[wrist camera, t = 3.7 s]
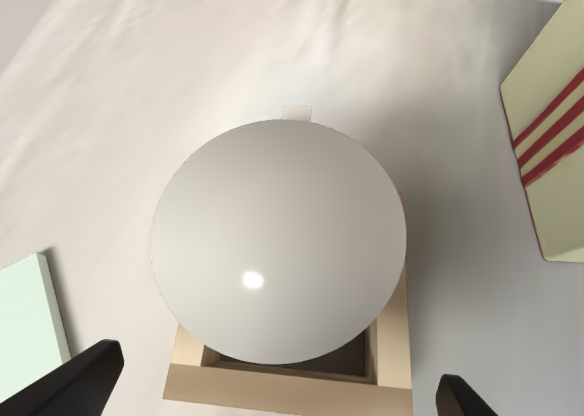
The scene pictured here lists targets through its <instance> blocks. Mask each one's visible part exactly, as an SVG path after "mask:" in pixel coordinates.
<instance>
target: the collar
mask: <svg viewBox="0 0 584 416" xmlns="http://www.w3.org/2000/svg"><path fill="white" fill-rule="evenodd" d="M397 193H398V195H399V198H400V200H401V204H402V192H397ZM402 208H403V207H402ZM220 356H221V353H219V352H217V351H216V350H214V349H212V348H210V347H208V346H206V345H205V344H203V343H202V342H200V341H199V340H198V339H196V338H195V337H194V336H192V335H191V334H190V333H189V332H188V331H187V330H186V329H185V328H184V327H183V326H182V325H181V324H180V323H179V324H178V329H177V333H176V338H175V343H174V347H173V352H172V357H171V361H170V366H169V370H168V375H167V380H166V384H165V389H164V394H163V398H162V399H167V400H176V401H184V402H193V403H201V404H210V405H218V406H226V407H235V408H243V409H252V410H260V411H268V412H277V413H285V414H294V415H302V416H413V404H412V384H411V364H410V345H409V325H408V305H407V286H406V266H405V259H404V265H403V268H402V271H401V274H400V278H399V281H398V283H397V285H396V287H395V289H394V291H393V293H392V296H391V298H390V299H389V301H388V302H387V304H386V305H385V307H384V308H383V310H382V311H381V313H380V314H379V315H378V316H377V317H376V318H375V319H374V320H373V322H372V323H371V324H370V325H369V326H368V327H367V328H366V329H365V376H357V375H348V374H339V373H329V372H320V371H311V370H301V369H292V368H282V367H273V366H264V365H254V364H245V363H236V362H226V361H220Z"/></svg>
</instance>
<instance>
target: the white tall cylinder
mask: <svg viewBox="0 0 584 416" xmlns="http://www.w3.org/2000/svg"><path fill="white" fill-rule="evenodd" d="M150 250H151V263H152V268H153V273H154V278H155V280H156V283H157V286H158V289H159V291H160V294H161V296H162V298H163V300H164V301H165V303H166V305H167V307H168V309H169V310H170V311H171V313H172V314H173V315H174V317H175V318H176V319H177V321H178V322H179V323H180V324H181V325H182V326H183V327H184V328H185V329H186V330H187V331H188V332H189V333H190V334H191V335H192V336H194V337H195V338H196V339H198V340H199V341H200V342H202V343H203V344H205V345H206V346H208V347H210V348H212V349H214V350H216V351H217V352H219V353H221V354H224V355H226V356H229V357H232V358H235V359H238V360H242V361H247V362H253V363H258V364H288V363H296V362H302V361H305V360H309V359H313V358H317V357H320V356H322V355H324V354H327V353H329V352H331V351H333V350H336V349H338V348H339V347H341V346H342V345H344V344H346V343H347V342H349V341H351V340H352V339H354V338H355V337H356V336H357V335H358V334H360V333H361V332H362V331H363V330H364V329H366V328H367V327H368V326H369V325H370V324H371V323H372V322H373V320H374V319H375V318H376V317H377V316H378V315H379V314H380V313H381V311H382V310H383V308H384V307H385V305H386V304H387V302H388V301H389V299H390V298H391V296H392V293H393V291H394V289H395V287H396V285H397V283H398V281H399V278H400V274H401V271H402V268H403V265H404V259H405V252H406V223H405V215H404V211H403V208H402V204H401V200H400V198H399V195H398V193H397V191H396V188H395V186H394V184H393V182H392V181H391V179H390V177H389V176H388V174H387V172H386V171H385V170H384V168H383V167H382V166H381V165H380V163H379V162H378V161H377V160H376V159H375V158H374V157H373V156H372V155H371V154H370V153H369V152H368V151H367V150H366V149H365V148H363V147H362V146H361V145H360V144H358V143H357V142H356V141H354V140H353V139H351V138H349V137H348V136H346V135H344V134H342V133H340V132H338V131H336V130H333V129H331V128H329V127H326V126H322V125H319V124H316V123H311V107H310V106H284V107H283V115H282V119H281V120H267V121H259V122H255V123H250V124H246V125H243V126H240V127H237V128H234V129H232V130H229V131H227V132H225V133H223V134H221V135H219V136H217V137H216V138H214V139H212V140H211V141H209V142H207V143H206V144H205V145H203V146H202V147H201V148H199V149H198V150H197V151H195V152H194V153H193V154H192V155H191V156H190V157H189V158H188V159H187V160H186V161H185V162H184V163H183V164H182V165H181V167H180V168H179V169H178V170H177V171H176V173H175V174H174V175H173V177H172V178H171V180H170V181H169V183H168V185H167V186H166V188H165V190H164V192H163V194H162V196H161V198H160V200H159V203H158V206H157V209H156V212H155V215H154V220H153V225H152V229H151V242H150Z"/></svg>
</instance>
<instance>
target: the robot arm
mask: <svg viewBox="0 0 584 416" xmlns="http://www.w3.org/2000/svg"><path fill="white" fill-rule="evenodd" d="M123 366H124V358H123V354H122V350H121V346H120V343H119V342H118V341H117V340H110V339H104V340H101V341H99V342H98V343H96V344H94V345H93V346H91V347H90V348H88V349H86V350H85V351H83V352H82V353H80V354H78V355H77V356H75V357H74V358H72V359H70V360H69V361H67V362H66V363H64V364H62V365H61V366H59V367H57V368H56V369H54V370H53V371H51V372H49V373H48V374H46V375H45V376H43V377H41V378H40V379H38V380H37V381H35V382H33V383H32V384H30V385H29V386H27V387H25V388H24V389H22V390H20V391H19V392H17V393H16V394H14V395H12V396H11V397H9V398H8V399H6V400H4V401H3V402H1V403H0V416H101V414H102V412H103V410H104V408H105V405H106V403H107V401H108V399H109V397H110V395H111V393H112V391H113V389H114V386H115V384H116V382H117V380H118V378H119V376H120V374H121V372H122V369H123ZM436 406H437V411H438V415H439V416H498V415H497V414H496V413H495V412H494V411H493V410H492V409H491V408H490V407H489V406H488V405H487V403H486V402H485V401H484V400H483V399H482V398H481V397H480V396H479V395H478V394H477V393H476V392H475V391H474V390H473V389H472V388H471V387H470V386H469V385H468V384H467V383H466V382H465V380H464V379H463V378H461V377H460V376H458V375H450V374H444V375H442V377H441V380H440V383H439V386H438V389H437V393H436Z"/></svg>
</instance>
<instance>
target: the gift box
mask: <svg viewBox="0 0 584 416" xmlns="http://www.w3.org/2000/svg"><path fill="white" fill-rule="evenodd" d="M500 93H501V97H502V101H503V105H504V109H505V113H506V117H507V121H508V125H509V129H510V133H511V137H512V141H513V143H512V145H513V148H514V151H515V155H516V157H517V160H518V164H519V167H520V171H521V178H522V182H523V185H524V188H525V191H526V196H527V200H528V204H529V209H530V213H531V216H532V220H533V224H534V227H535V231H536V235H537V239H538V242H539V246H540V249H541V253H542V256H543V259H545V260H546V261H560V262H580V263H584V0H564V1H563V3H562V4H561V5H560V7H559V8H558V9H557V11H556V12H555V13H554V15H553V16H552V17H551V19H550V20H549V21H548V23H547V24H546V25H545V27H544V28H543V29H542V31H541V32H540V34H539V35H538V36H537V38H536V39H535V40H534V42H533V43H532V44H531V46H530V47H529V48H528V50H527V51H526V52H525V53H524V55H523V56H522V57H521V59H520V60H519V62H518V63H517V64H516V66H515V67H514V68H513V70H512V71H511V72H510V74H509V75H508V76H507V78H506V79H505V80H504V82H503V83H502V84H501V86H500Z"/></svg>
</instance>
